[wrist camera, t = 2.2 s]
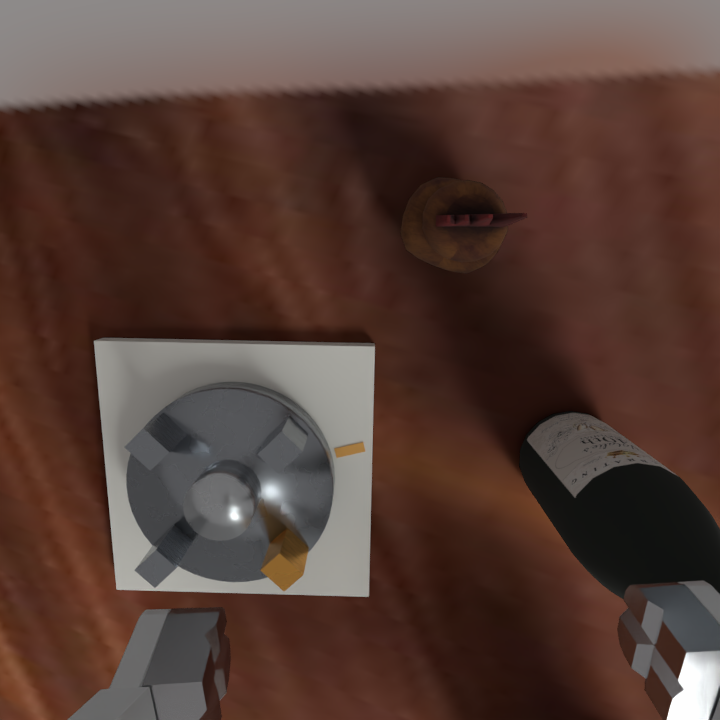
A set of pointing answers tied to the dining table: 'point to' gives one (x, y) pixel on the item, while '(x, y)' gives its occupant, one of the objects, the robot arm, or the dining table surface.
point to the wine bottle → (618, 505)
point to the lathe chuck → (230, 485)
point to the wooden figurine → (455, 224)
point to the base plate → (271, 370)
